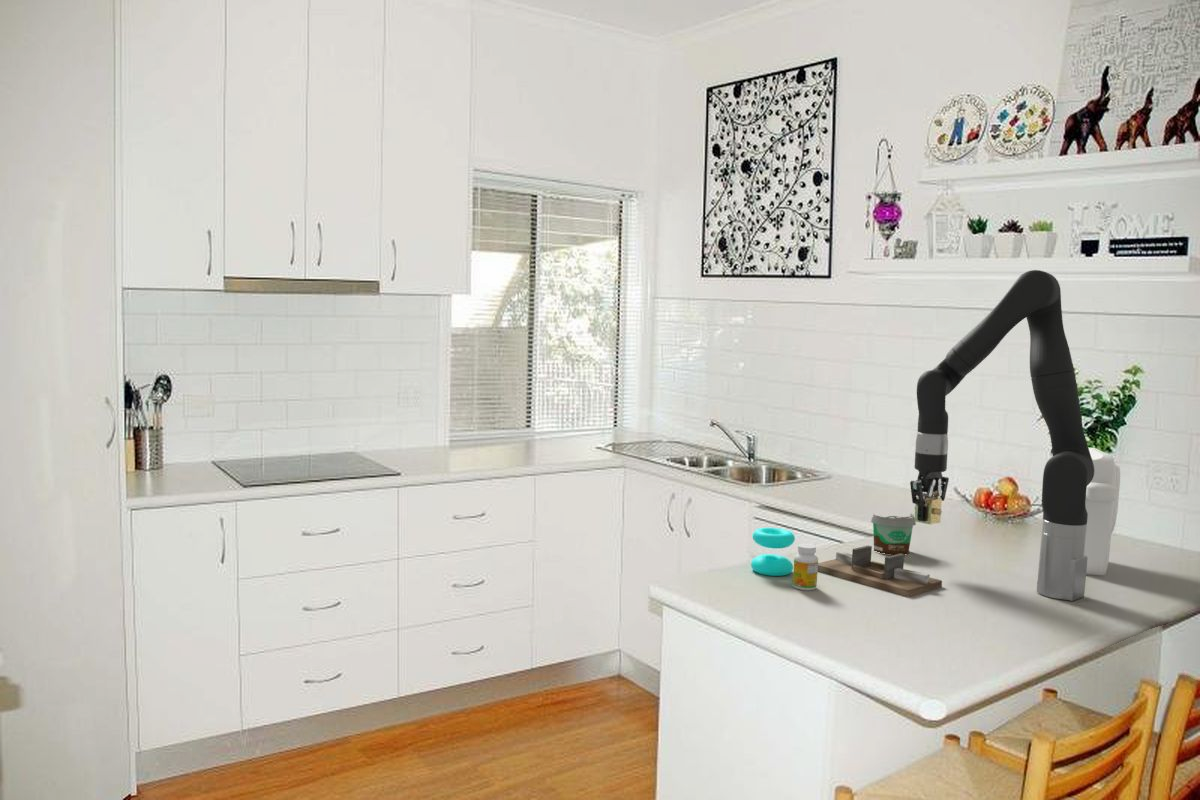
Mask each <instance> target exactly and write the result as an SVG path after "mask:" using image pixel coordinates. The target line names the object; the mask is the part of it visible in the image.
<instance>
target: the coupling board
mask: <svg viewBox="0 0 1200 800" xmlns="http://www.w3.org/2000/svg"><path fill="white" fill-rule="evenodd" d="M872 548H873V547H872V545H863V546H860V547H855V548H852V551H851V552H852V554H851V553H849V552H845V551H843V550H842V551H841V550H840V551H836V554H835V559H831V560H827V561H822V562H818V571H817V572H820V573H823V574H826V575H829V576H834V577H837V578H840V579H843V580H848V581H851V582H855V583H859V584H862V585H865V586H868V587H872V588H876V589H880V590H883V591H886V592H890V593H893V594H897V595H900V596H905V597H907V598H909V597H912V596H915V595H919V594H923V593H926V592H929V591H933V590H937V589H939V588H942V587H943V586H942V585H943V580H941V579H938V578H934V577H930V573H926V572H921V571H915V570H910V569H904V566H905V565H904V562H905V555H904V554H901V553H900V554H896V555H887V556H885V557H884V563H881V562H879V561H874V560H872V551H873V550H872Z"/></svg>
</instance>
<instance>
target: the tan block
mask: <svg viewBox="0 0 1200 800" xmlns="http://www.w3.org/2000/svg"><path fill="white" fill-rule="evenodd" d="M917 497H918V496H916V498H917ZM923 499H925V497H923ZM942 502H943V501H942V498H936V497H934V496H933V497H931V498H929V500H928V505H927V521H925V522H923V521H918V519H917V514H918V505H917V504H914V518H915V522H916V523H922V524H925V525H935V524H939V523H941V515H942Z"/></svg>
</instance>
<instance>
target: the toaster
mask: <svg viewBox="0 0 1200 800" xmlns="http://www.w3.org/2000/svg"><path fill="white" fill-rule="evenodd" d="M1088 448H1089V451H1090V455H1091V458H1092V461H1093V464H1094V476H1093V479H1092V481H1091V482H1090V484H1089V485H1088V486H1087V488H1086V502H1085V506H1086V511H1087V513H1088V518H1087V528H1086V539H1085V551H1084V556H1087V557H1088V559H1087V570H1086V575H1093V576H1105V575H1106V573H1107V569H1108V566H1109V560H1110V559H1109V558H1110V552H1111V541H1112V534H1113V532H1114V531H1115V526H1116V523H1117V518H1118V507H1119V496H1120V488H1121V487H1120V485H1121V468H1120V466H1119V465H1117V464H1116V462H1115V460H1114V458H1113V457H1112V456H1111V454H1108V453H1106V452H1104V451H1102V450H1100V449H1099V448H1096V447H1089V446H1088Z"/></svg>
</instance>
